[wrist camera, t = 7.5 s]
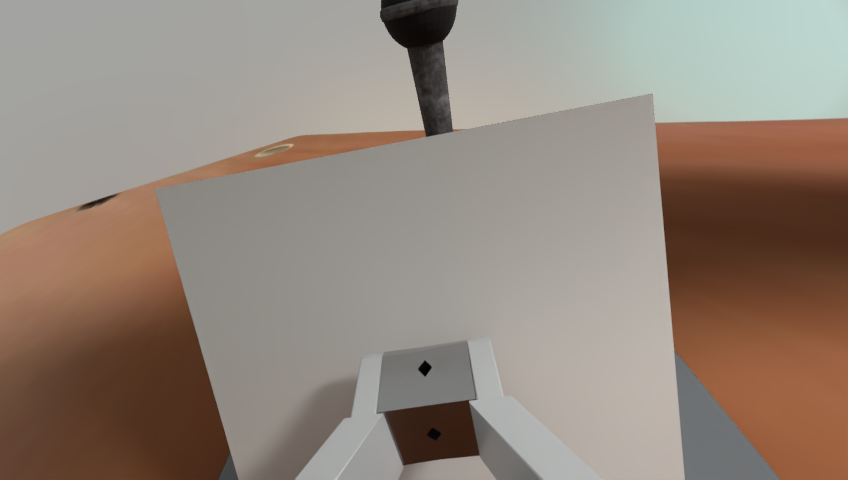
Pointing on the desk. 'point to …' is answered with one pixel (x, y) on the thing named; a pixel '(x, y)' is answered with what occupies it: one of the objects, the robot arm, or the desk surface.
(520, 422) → the robot arm
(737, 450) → the mat
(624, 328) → the tile
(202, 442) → the desk surface
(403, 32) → the microphone
